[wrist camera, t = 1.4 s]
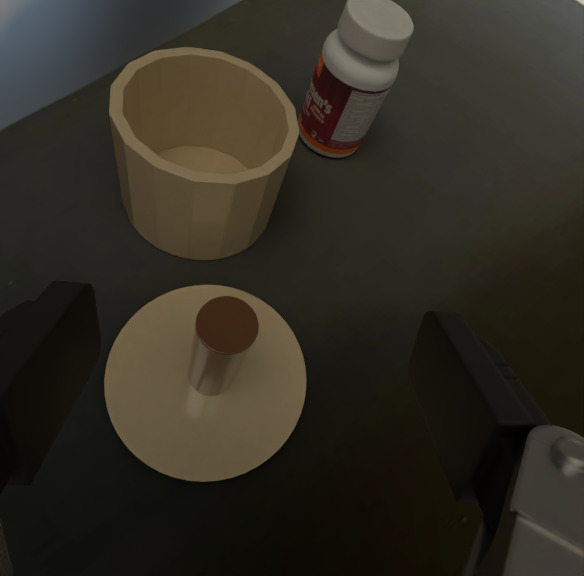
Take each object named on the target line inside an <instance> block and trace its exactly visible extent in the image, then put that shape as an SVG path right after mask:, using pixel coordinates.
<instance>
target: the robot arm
mask: <svg viewBox="0 0 584 576" xmlns="http://www.w3.org/2000/svg"><path fill="white" fill-rule="evenodd" d="M100 346H101V337H100V329H99V322H98V314H97V307H96V300H95V293H94V289H93V287H92V285H91V284H89V283H76V282H64V281H54V282H52V283H51V284H50V285H49V286H48V287H47V288H46V290H45V291H44V292H43V293H42V294H41V295H40V296H39V297H38V298H37V299H36V301H29V300H27V301H25V302H23V303H22V304H20V305H18V306H16V307H14V308H12V309H11V310H9V311H7V312H5V313H4V314H3V315H2V316H1V317H0V493H1V492H2V490H3V488H4V487H5V485H26V486H30V484H31V482H32V481H33V479H34V477H35V475H36V473H37V471H38V470H39V468H40V466H41V464H42V462H43V460H44V459H45V457H46V455H47V453H48V451H49V449H50V448H51V446H52V444H53V442H54V440H55V438H56V437H57V435H58V433H59V431H60V429H61V427H62V426H63V424H64V422H65V420H66V418H67V416H68V415H69V413H70V411H71V409H72V407H73V405H74V403H75V402H76V400H77V398H78V396H79V394H80V392H81V391H82V389H83V387H84V385H85V383H86V381H87V380H88V378H89V376H90V374H91V372H92V370H93V369H94V367H95V365H96V363H97V360H98V357H99V353H100ZM408 378H409V383H410V386H411V388H412V391H413V393H414V396H415V398H416V401H417V403H418V406H419V408H420V411H421V413H422V416H423V418H424V421H425V423H426V426H427V428H428V431H429V433H430V436H431V438H432V441H433V443H434V446H435V448H436V451H437V453H438V456H439V458H440V461H441V463H442V466H443V468H444V471H445V473H446V476H447V478H448V481H449V483H450V486H451V488H452V491H453V493H454V496H455V498H456V501H457V502H460V503H479V505H480V507H481V509H482V511H483V514H482V516H481V517H480V519H479V521H478V524H477V527H476V530H475V533H474V536H473V540H472V543H471V546H470V549H469V552H468V555H467V558H466V562H465V565H464V568H463V571H462V574H461V576H584V438H583V437H581V436H579V435H577V434H576V433H574V432H571V431H569V430H567V429H564V428H561V427H557V426H553V425H552V424H551V422H550V421H549V420H548V418H547V417H546V416H545V414H544V413H543V411H542V410H541V409H540V407H539V406H538V405H537V403H536V402H535V400H534V399H533V398H532V396H531V395H530V394H529V392H528V391H527V389H526V388H525V387H524V385H523V384H522V383H521V381H520V380H517V376H516V374H515V373H514V372H513V370H512V369H511V367H508V363H507V362H506V361H505V359H504V358H503V356H502V355H501V354H500V352H499V351H498V350H497V348H495V347H494V346H493V345H492V344H490V343H489V342H488V341H486V340H485V339H484V338H483V337H481V336H480V335H476V334H474V333H473V331H472V330H471V328H470V327H469V325H468V324H467V322H466V321H465V320H464V318H463V317H462V315H460V314H458V313H448V312H435V311H428V312H427V313H426V314H425V315H424V317H423V320H422V322H421V325H420V329H419V332H418V335H417V338H416V341H415V344H414V347H413V350H412V353H411V356H410V359H409V364H408ZM0 576H15V574H14V570H13V566H12V562H11V558H10V554H9V550H8V546H7V542H6V538H5V534H4V530H3V526H2V522H1V518H0Z"/></svg>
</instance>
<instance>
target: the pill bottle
mask: <svg viewBox="0 0 584 576" xmlns="http://www.w3.org/2000/svg"><path fill="white" fill-rule="evenodd" d="M412 33H413V22H412V20H411V18H410V16H409V15H408V14H407V12H406V11H405V10H404V9H402V8H401V7H400V6H399V5H397V4H396V3H394V2H393V1H391V0H347V3H346V5H345V8H344V11H343V13H342V16H341V18H340V20H339V23H338V29H336V30H335V31H333V32H332V33H331V34H330V35H329V36H328V37H327V39H326V41H325V43H324V45H323V48H322V51H321V54H320V57H319V60H318V62H317V65H316V68H315V71H314V74H313V77H312V80H311V83H310V86H309V88H308V91H307V94H306V97H305V100H304V103H303V106H302V109H301V112H300V115H299V119H298V127H299V135H300V137H301V139H302V140H303V142H304V143H305V144H306V145H307V146H308V147H309V148H310V149H312V150H313V151H315V152H316V153H319V154H321V155H323V156H326V157H332V158H342V157H346V156H349V155H351V154H352V153H354V152H355V151H356V150H357V148H358V147H359V145H360V144H361V142H362V140H363V138H364V136H365V134H366V133H367V131H368V129H369V127H370V125H371V123H372V121H373V120H374V118H375V116H376V114H377V112H378V110H379V108H380V107H381V105H382V103H383V101H384V99H385V97H386V96H387V94H388V92H389V90H390V88H391V86H392V84H393V83H394V81H395V79H396V76H397V74H398V69H399V62H398V58H399V57H401V55H402V54H403V52H404V50H405V47H406V45H407V43H408V41H409V39H410V37H411V35H412Z"/></svg>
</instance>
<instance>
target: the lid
mask: <svg viewBox="0 0 584 576" xmlns="http://www.w3.org/2000/svg"><path fill="white" fill-rule="evenodd" d="M104 394H105V400H106V406H107V410H108V413H109V416H110V419H111V422H112V424H113V426H114V428H115V430H116V432H117V434H118V435H119V437H120V438H121V440H122V441H123V443H124V444H125V445H126V447H127V448H128V449H129V450H130V451H131V452H132V453H133V454H134V455H135V456H136V457H137V458H138V459H139V460H141V461H142V462H143V463H145V464H146V465H147V466H149V467H150V468H152V469H154V470H156V471H158V472H159V473H162V474H164V475H167V476H170V477H172V478H176V479H180V480H185V481H192V482H214V481H221V480H225V479H230V478H233V477H236V476H239V475H241V474H244V473H246V472H248V471H250V470H252V469H254V468H256V467H258V466H259V465H261V464H262V463H264V462H265V461H266V460H268V459H269V458H270V457H271V456H272V455H273V454H275V453H276V452H277V451H278V450H279V449H280V448H281V446H282V445H283V444H284V443H285V442H286V440H287V439H288V438H289V436H290V435H291V433H292V431H293V430H294V428H295V426H296V424H297V422H298V419H299V417H300V415H301V412H302V408H303V405H304V400H305V394H306V367H305V362H304V358H303V354H302V351H301V348H300V346H299V343H298V341H297V339H296V337H295V335H294V333H293V332H292V330H291V329H290V327H289V326H288V324H287V323H286V322H285V321H284V319H283V318H282V317H281V316H280V315H279V314H278V313H277V312H276V311H275V310H274V309H273V308H272V307H270V306H269V305H268V304H266V303H265V302H263V301H262V300H260V299H258V298H257V297H255V296H253V295H251V294H249V293H246V292H244V291H241V290H238V289H234V288H231V287H226V286H220V285H195V286H189V287H184V288H180V289H177V290H174V291H171V292H168V293H166V294H164V295H162V296H159V297H158V298H156V299H154V300H153V301H151V302H149V303H148V304H146V305H145V306H144V307H143V308H141V309H140V310H139V311H138V312H137V313H136V314H135V315H134V316H133V317H132V318H131V319H130V320H129V321H128V322H127V323H126V325H125V326H124V327H123V329H122V330H121V331H120V333H119V335H118V337H117V338H116V340H115V342H114V344H113V346H112V349H111V351H110V354H109V357H108V361H107V365H106V370H105V378H104Z"/></svg>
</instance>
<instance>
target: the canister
mask: <svg viewBox="0 0 584 576" xmlns="http://www.w3.org/2000/svg"><path fill="white" fill-rule="evenodd" d="M109 116H110V122H111V129H112V136H113V143H114V149H115V156H116V163H117V169H118V176H119V183H120V190H121V196H122V202H123V205H124V207H125V210H126V213H127V215H128V218H129V220H130V221H131V223H132V225H133V226H134V228H135V229H136V230H137V231H138V232H139V234H140V235H142V236H143V237H144V238H145V239H146V240H147V241H148V242H150V243H151V244H152V245H154V246H155V247H157V248H159V249H161V250H163V251H165V252H167V253H169V254H172V255H175V256H178V257H182V258H186V259H192V260H216V259H222V258H226V257H229V256H233V255H235V254H237V253H240V252H242V251H243V250H245V249H247V248H248V247H250V246H251V245H252V244H253V243H255V242H256V240H257V239H258V238H259V237H260V236H261V235H262V233H263V232H264V231H265V229H266V226H267V224H268V221H269V218H270V215H271V212H272V209H273V207H274V204H275V201H276V198H277V195H278V193H279V190H280V187H281V184H282V181H283V178H284V176H285V173H286V170H287V167H288V164H289V161H290V159H291V156H292V153H293V150H294V147H295V145H296V142H297V139H298V136H299V127H298V122H297V117H296V111H295V107H294V106H293V104H292V103H291V101H290V100H289V98H288V97H287V96H286V94H285V93H284V91H283V90H282V88H281V87H280V86H279V84H278V83H277V82H275V81H274V80H273V79H271V78H270V77H269V76H267V75H266V74H265V73H263V72H262V71H261V70H259V69H258V68H257V67H255V66H254V65H253V64H250V63H248V62H246V61H243V60H241V59H238V58H236V57H233V56H231V55H229V54H226V53H224V52H220V51H213V50H206V49H200V48H193V47H182V48H173V49H165V50H156V51H153V52H151V53H149V54H147V55H145V56H142V57H140V58H138V59H136V60H134V61H132V62H130V63H128V64H127V65H126V67H125V68H124V69H123V71H122V72H121V73H120V75H119V76H118V77H117V78H116V80H115V81H114V82H113V84H112V85H111V91H110V106H109Z"/></svg>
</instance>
